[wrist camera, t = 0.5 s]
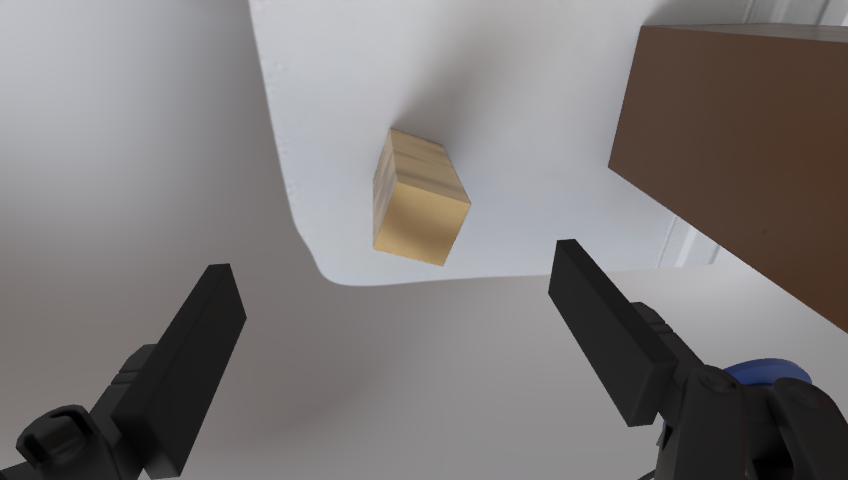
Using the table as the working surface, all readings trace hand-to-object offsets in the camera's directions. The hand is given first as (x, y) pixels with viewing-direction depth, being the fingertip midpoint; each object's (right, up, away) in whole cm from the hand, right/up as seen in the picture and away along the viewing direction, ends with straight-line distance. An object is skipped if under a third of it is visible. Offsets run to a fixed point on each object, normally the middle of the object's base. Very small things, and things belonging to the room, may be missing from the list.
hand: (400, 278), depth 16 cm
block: (0, +8, +19) cm, 21 cm away
